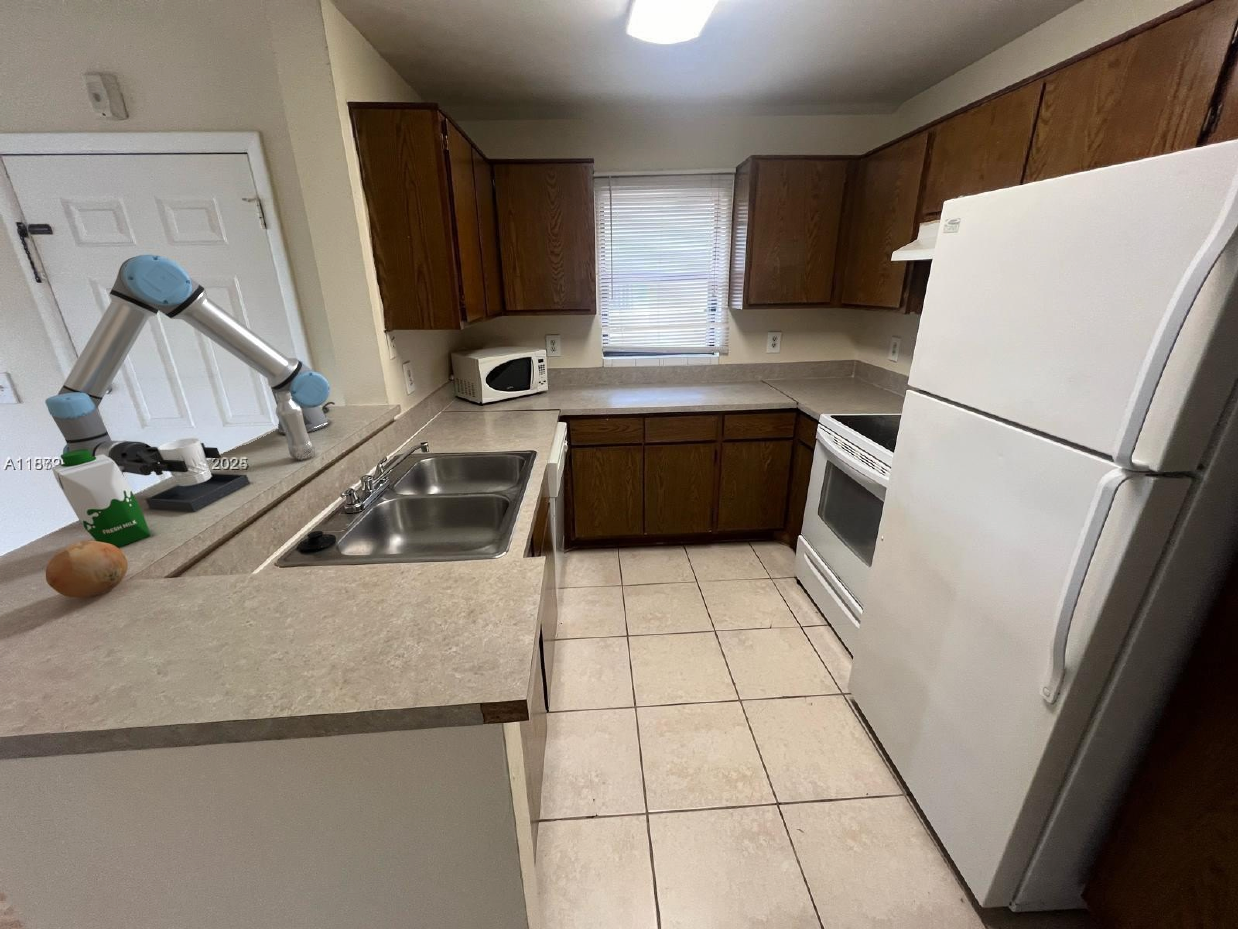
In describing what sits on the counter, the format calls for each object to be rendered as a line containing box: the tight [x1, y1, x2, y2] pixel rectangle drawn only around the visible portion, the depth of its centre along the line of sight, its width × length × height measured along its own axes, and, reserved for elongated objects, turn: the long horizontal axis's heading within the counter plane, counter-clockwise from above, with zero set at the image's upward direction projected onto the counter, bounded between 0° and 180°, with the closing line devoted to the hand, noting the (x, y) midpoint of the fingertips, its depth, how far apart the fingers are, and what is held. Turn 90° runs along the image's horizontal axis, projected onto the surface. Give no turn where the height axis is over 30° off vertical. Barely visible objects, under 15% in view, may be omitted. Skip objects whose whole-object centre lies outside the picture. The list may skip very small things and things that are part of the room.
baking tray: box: [144, 472, 251, 513], centre depth 120 cm, size 15×13×3 cm
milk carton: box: [51, 449, 152, 549], centre depth 98 cm, size 9×9×20 cm
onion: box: [45, 540, 129, 599], centre depth 84 cm, size 10×10×10 cm
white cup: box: [157, 437, 212, 486], centre depth 117 cm, size 8×8×10 cm
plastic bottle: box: [275, 391, 316, 461], centre depth 137 cm, size 6×7×20 cm
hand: (201, 459), depth 115 cm, fingers closed on white cup, 8 cm apart
